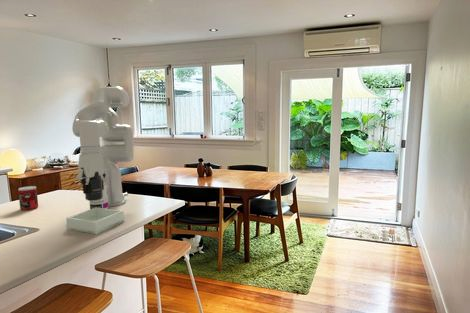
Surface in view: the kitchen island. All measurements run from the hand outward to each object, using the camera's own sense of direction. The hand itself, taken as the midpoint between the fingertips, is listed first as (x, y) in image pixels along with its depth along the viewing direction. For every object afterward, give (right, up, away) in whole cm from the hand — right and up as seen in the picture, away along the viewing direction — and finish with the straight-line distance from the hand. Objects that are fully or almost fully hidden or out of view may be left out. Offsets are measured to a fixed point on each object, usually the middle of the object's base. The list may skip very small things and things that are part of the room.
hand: (93, 191), depth 138 cm
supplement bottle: (0, -3, 0) cm, 4 cm away
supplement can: (-6, -13, +20) cm, 24 cm away
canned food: (-46, -12, +29) cm, 56 cm away
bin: (0, -15, +2) cm, 15 cm away
